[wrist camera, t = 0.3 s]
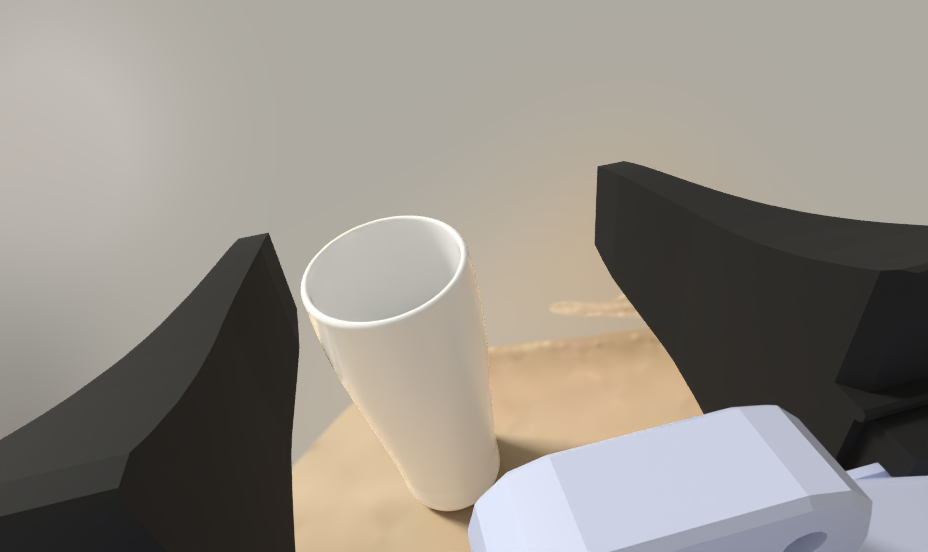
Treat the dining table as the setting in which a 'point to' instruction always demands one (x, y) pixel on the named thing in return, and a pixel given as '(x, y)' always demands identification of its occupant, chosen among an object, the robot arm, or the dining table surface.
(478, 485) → the white cup
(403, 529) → the dining table surface
